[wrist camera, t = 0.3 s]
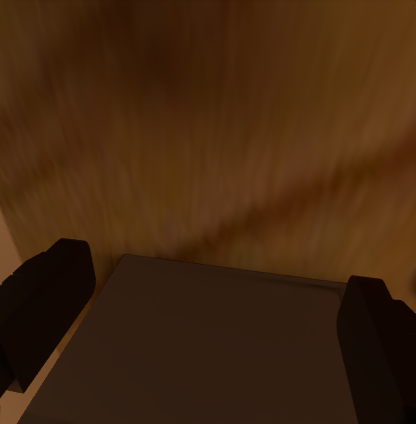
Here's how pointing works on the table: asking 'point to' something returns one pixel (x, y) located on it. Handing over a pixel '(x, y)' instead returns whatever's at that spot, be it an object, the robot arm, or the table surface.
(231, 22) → the table surface
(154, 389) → the block
